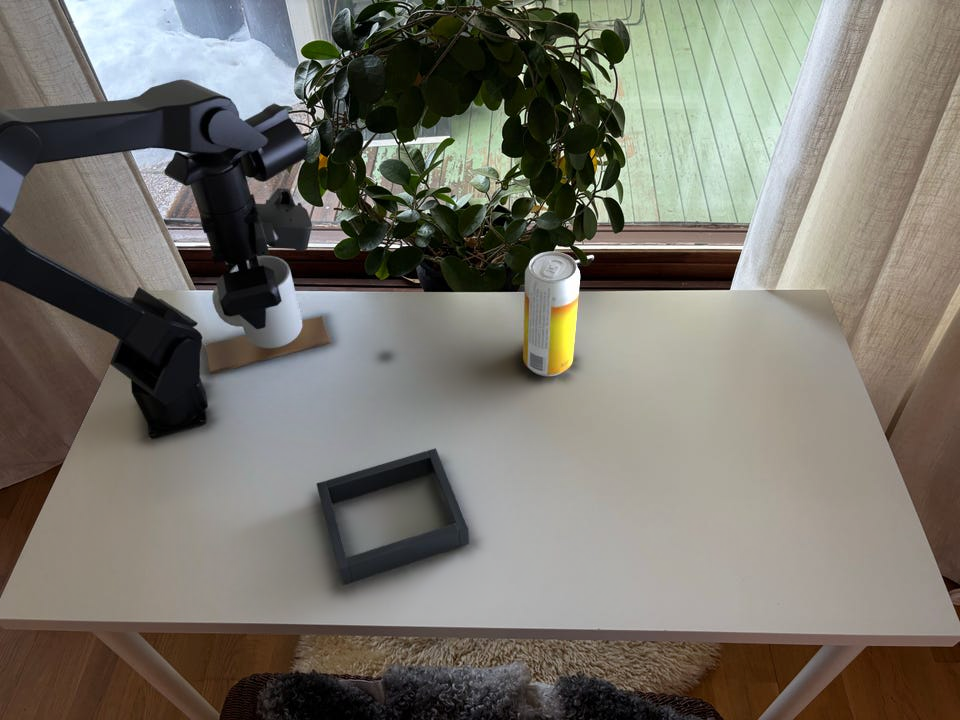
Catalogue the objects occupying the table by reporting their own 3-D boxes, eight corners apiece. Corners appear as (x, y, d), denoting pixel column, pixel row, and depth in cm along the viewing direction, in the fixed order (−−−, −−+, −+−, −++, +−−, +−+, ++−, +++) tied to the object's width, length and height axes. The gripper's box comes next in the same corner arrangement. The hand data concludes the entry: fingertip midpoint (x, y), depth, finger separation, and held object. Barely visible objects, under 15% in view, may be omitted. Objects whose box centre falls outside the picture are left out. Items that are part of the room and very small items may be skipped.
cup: (300, 348, 96) (286, 292, 90) (218, 353, 96) (198, 297, 90) (306, 309, 101) (293, 254, 95) (228, 313, 101) (209, 258, 95)
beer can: (579, 352, 98) (588, 257, 87) (562, 385, 94) (569, 289, 83) (534, 339, 100) (537, 244, 89) (515, 370, 96) (516, 275, 85)
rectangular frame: (343, 585, 76) (338, 569, 74) (321, 499, 83) (316, 483, 81) (469, 543, 79) (468, 527, 77) (437, 464, 86) (435, 447, 84)
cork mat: (210, 374, 97) (209, 371, 96) (206, 347, 100) (205, 344, 100) (330, 343, 100) (329, 340, 100) (322, 318, 103) (321, 315, 103)
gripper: (315, 231, 80) (338, 341, 91) (283, 143, 93) (307, 250, 104) (203, 256, 78) (241, 366, 89) (186, 162, 90) (221, 269, 101)
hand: (256, 308), depth 96 cm, fingers closed on cup, 7 cm apart
